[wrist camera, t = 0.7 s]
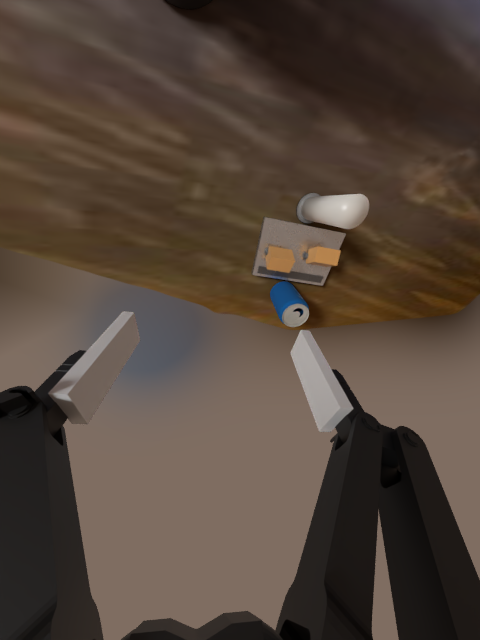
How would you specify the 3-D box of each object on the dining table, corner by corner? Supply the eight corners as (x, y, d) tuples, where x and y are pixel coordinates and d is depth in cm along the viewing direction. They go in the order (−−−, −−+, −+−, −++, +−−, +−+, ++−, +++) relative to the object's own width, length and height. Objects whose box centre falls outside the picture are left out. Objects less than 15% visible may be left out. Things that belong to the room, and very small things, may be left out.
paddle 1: (267, 244, 38) (269, 256, 35) (292, 248, 39) (296, 261, 36) (263, 256, 40) (265, 269, 38) (287, 260, 41) (290, 273, 38)
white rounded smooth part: (301, 190, 35) (345, 183, 22) (325, 196, 36) (382, 192, 23) (292, 220, 38) (326, 230, 25) (315, 224, 39) (360, 236, 25)
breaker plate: (263, 216, 38) (265, 217, 36) (341, 232, 40) (347, 233, 38) (251, 272, 44) (252, 275, 42) (319, 282, 46) (323, 286, 44)
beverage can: (299, 290, 47) (317, 313, 37) (281, 306, 50) (293, 333, 40) (282, 275, 45) (297, 296, 35) (264, 293, 47) (273, 318, 37)
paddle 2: (306, 249, 40) (316, 246, 36) (329, 253, 41) (342, 250, 36) (303, 263, 41) (313, 261, 36) (325, 267, 41) (338, 265, 37)
